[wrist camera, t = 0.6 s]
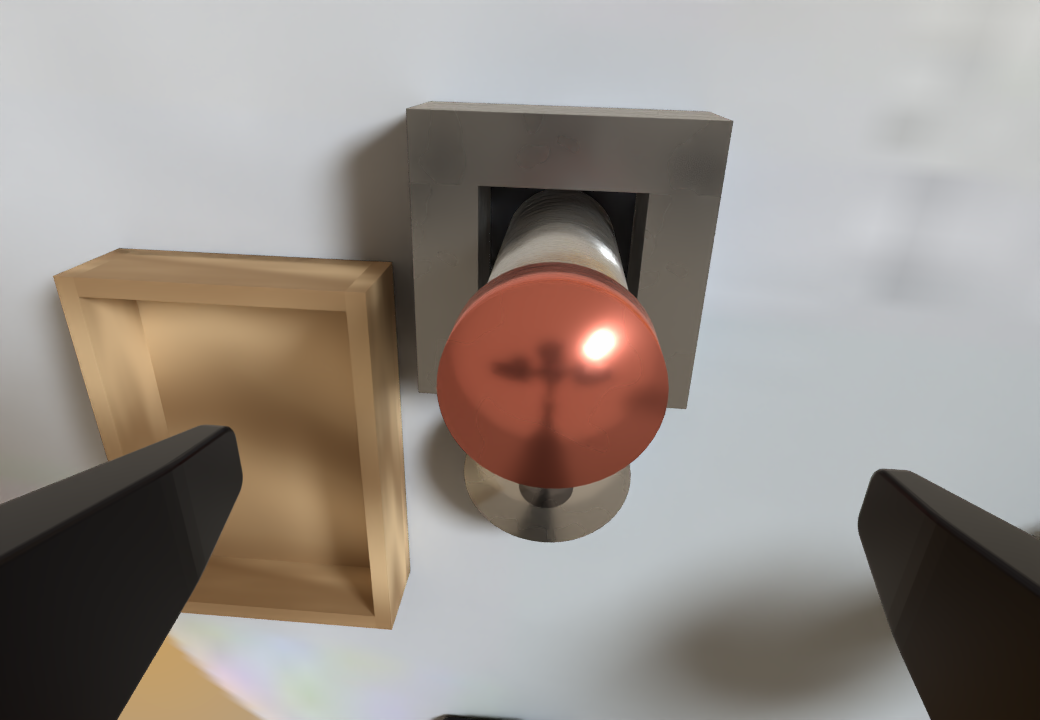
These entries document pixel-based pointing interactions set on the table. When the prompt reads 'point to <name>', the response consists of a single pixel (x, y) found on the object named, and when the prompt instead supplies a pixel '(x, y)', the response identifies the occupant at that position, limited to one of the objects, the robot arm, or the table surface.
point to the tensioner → (569, 166)
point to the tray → (263, 415)
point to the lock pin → (554, 353)
